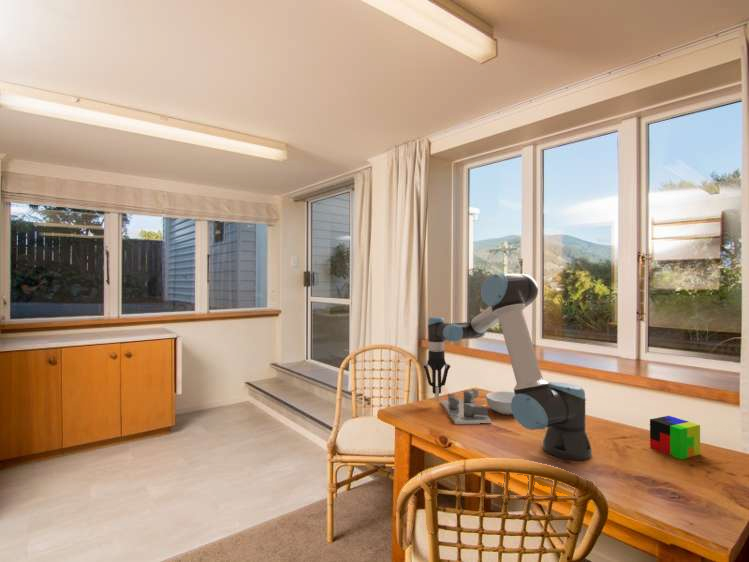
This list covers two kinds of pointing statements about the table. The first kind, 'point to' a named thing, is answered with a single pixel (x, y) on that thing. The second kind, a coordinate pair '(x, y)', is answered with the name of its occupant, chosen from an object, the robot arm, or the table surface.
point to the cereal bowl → (500, 401)
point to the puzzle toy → (675, 436)
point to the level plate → (459, 415)
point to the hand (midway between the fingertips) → (436, 400)
